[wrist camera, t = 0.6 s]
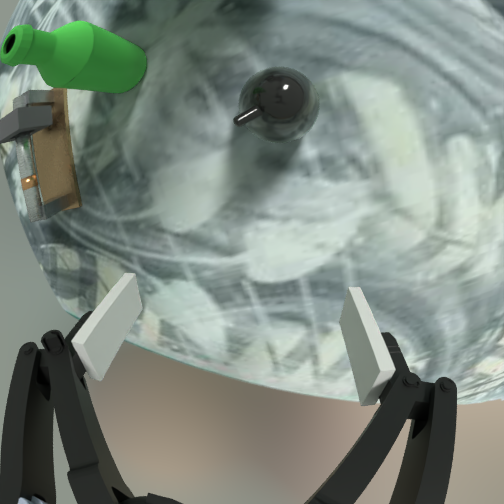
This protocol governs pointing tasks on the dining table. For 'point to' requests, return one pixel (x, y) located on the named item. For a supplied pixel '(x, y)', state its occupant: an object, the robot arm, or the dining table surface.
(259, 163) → the dining table surface
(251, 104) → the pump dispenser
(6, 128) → the grey sliding block
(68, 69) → the bottle
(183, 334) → the dining table surface
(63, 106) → the pipe stand
